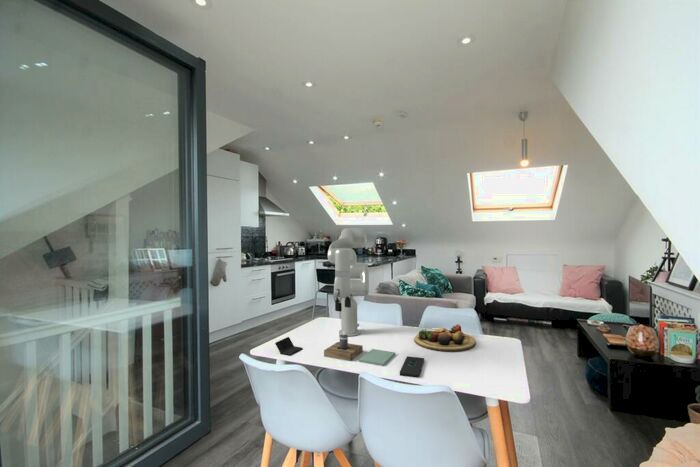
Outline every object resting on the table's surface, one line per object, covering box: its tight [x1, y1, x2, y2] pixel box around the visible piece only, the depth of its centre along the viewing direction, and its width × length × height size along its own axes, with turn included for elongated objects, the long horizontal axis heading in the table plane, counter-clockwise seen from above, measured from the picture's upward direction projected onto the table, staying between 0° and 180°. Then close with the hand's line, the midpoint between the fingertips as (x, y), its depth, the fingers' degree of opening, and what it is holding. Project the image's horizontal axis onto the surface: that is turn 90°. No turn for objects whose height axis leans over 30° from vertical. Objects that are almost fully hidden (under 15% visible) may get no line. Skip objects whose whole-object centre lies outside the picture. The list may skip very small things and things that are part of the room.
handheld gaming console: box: [274, 336, 303, 357], centre depth 167 cm, size 12×7×10 cm
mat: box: [358, 348, 396, 367], centre depth 156 cm, size 16×12×1 cm
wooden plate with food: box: [413, 323, 477, 353], centre depth 178 cm, size 32×32×8 cm
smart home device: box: [399, 355, 425, 379], centre depth 144 cm, size 8×2×20 cm
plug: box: [338, 334, 349, 350], centre depth 161 cm, size 4×4×9 cm
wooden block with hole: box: [323, 341, 364, 362], centre depth 161 cm, size 14×14×3 cm
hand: (343, 309), depth 162 cm, fingers open, 9 cm apart
